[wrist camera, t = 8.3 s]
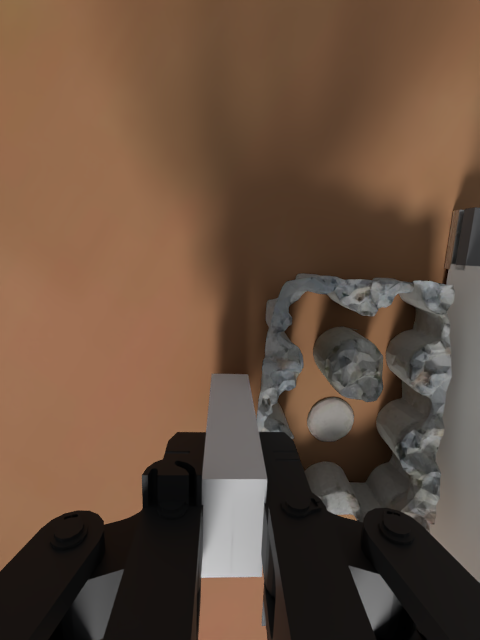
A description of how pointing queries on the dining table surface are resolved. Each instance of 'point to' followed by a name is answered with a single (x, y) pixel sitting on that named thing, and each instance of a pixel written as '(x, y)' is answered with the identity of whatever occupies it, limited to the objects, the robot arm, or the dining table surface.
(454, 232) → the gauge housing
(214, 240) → the dining table surface
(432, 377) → the egg carton
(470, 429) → the spring plate
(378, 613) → the robot arm
